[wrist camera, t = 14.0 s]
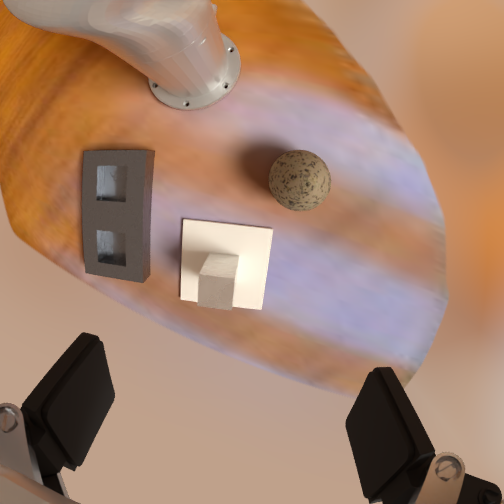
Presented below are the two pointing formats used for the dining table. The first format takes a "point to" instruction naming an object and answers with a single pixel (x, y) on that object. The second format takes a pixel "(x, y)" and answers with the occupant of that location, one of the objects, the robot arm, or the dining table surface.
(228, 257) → the steel block
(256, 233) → the tile
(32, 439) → the robot arm
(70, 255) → the dining table surface
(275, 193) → the decorative egg
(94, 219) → the block with square recesses
